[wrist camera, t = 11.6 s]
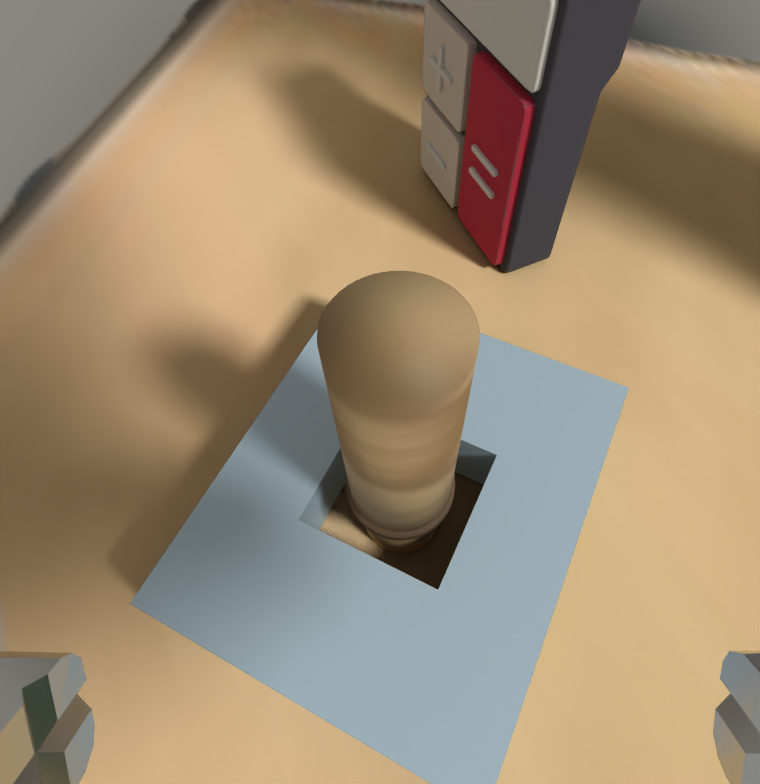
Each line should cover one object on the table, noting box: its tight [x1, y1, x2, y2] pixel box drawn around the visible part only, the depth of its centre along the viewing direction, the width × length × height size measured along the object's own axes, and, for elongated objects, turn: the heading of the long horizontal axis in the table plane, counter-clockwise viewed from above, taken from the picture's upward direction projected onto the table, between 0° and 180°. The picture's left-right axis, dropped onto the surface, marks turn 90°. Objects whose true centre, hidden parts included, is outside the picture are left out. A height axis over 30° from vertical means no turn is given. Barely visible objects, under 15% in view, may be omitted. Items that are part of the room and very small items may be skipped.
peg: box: [317, 271, 480, 553], centre depth 20 cm, size 4×4×14 cm
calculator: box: [420, 0, 641, 273], centre depth 30 cm, size 11×4×15 cm, turn 23°
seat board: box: [130, 284, 628, 784], centre depth 25 cm, size 17×14×4 cm
